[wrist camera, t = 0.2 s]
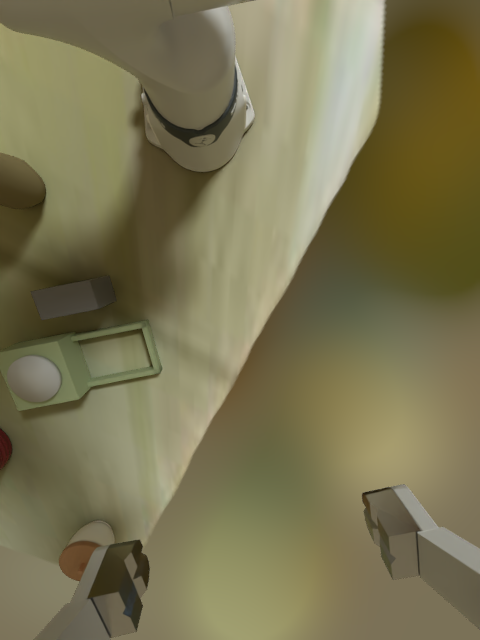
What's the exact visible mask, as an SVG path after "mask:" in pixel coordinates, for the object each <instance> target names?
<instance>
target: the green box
mask: <svg viewBox="0 0 480 640" xmlns="http://www.w3.org/2000/svg"><path fill="white" fill-rule="evenodd" d="M140 328H142V331H143V334H144V337H145V341H146V344H147V348H148V351H149V354H150V358H151V361H152V365H153V366H152V367H147V368H142V369H137V370H132V371H126V372H121V373H116V374H111V375H106V376H101V377H96V378H91V375H90V373H89V370H88V367H87V364H86V361H85V359H84V356H83V353H82V350H81V347H80V345H79V342H78V340H84V339H89V338H94V337H99V336H104V335H109V334H114V333H119V332H124V331H129V330H135V329H140ZM161 370H162V366H161V363H160V359H159V356H158V352H157V349H156V345H155V342H154V338H153V335H152V331H151V328H150V324H149V321H148V320H144V321H139V322H134V323H129V324H124V325H119V326H114V327H109V328H104V329H99V330H93V331H88V332H83V333H78V334H76V333H75V332H71V333H65V334H60V335H55V336H50V337H45V338H40V339H35V340H30V341H25V342H20V343H16V344H14V345H11V346H9V347H7V348H5V349H2V350H0V371H1V373H2V376H3V378H4V380H5V382H6V385H7V387H8V389H9V391H10V394H11V396H12V398H13V400H14V403H15V405H16V407H17V409H18V411H22V410H27V409H32V408H37V407H42V406H48V405H53V404H58V403H63V402H68V401H73V400H78V399H80V398H81V397H82V396H83V395H84V394H85V393H86V392H87V391H88V390H89V389H90V388H91V387H92V386H96V385H102V384H107V383H112V382H117V381H122V380H127V379H132V378H137V377H143V376H148V375H153V374H158V373H160V372H161Z"/></svg>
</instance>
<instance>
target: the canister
mask: <svg viewBox="0 0 480 640" xmlns="http://www.w3.org/2000/svg"><path fill="white" fill-rule="evenodd" d="M11 453H12V445H11V442H10V440H9V438H8V436H7V435H6V434H5V433H4V432H3V431H2V430H1V429H0V470H1V469H2V468H3V467H4V466H5V464H6V463H7V461H8V460H9V458H10V456H11Z"/></svg>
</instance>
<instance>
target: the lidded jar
mask: <svg viewBox="0 0 480 640" xmlns="http://www.w3.org/2000/svg"><path fill="white" fill-rule="evenodd" d="M111 544H115V537H114V533H113V531H112V528H111V526H110V525H109V524H108V523H106V522H104V521H100V520H97V521H93V522H91V523H89V524H87V525H85V526H83V527H81V528H80V529H79V530H78V531H77V532H76V533H75V534H74V535H73V537H72V538H71V539H70V541H69V542H68V544H67V546H66V548H65V549H64V550H63V552H62V554H61V556H60V558H59V565H60V568H61V570H62V572H63V573H64V574H65V575H66V576H68V577H69V578H71V579H74V580H77V581H80V580H81V577H82V575H83V573H84V571H85V569H86V566H87V564H88V562H89V560H90V557H91V555H92V553H93V551H94V550H95V549H96V548H97V547H101V546H106V545H111Z"/></svg>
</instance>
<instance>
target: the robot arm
mask: <svg viewBox="0 0 480 640" xmlns="http://www.w3.org/2000/svg"><path fill="white" fill-rule="evenodd" d="M249 1H254V0H0V23H2V24H3V25H4V26H6V27H7V28H9V29H11V30H13V31H15V32H19V33H24V34H30V35H35V36H40V37H45V38H49V39H53V40H57V41H61V42H64V43H67V44H70V45H73V46H76V47H79V48H81V49H84V50H86V51H89V52H91V53H93V54H95V55H98V56H100V57H102V58H104V59H106V60H108V61H110V62H112V63H114V64H115V65H117V66H119V67H121V68H123V69H124V70H126V71H127V72H129V73H131V74H132V75H134V76H135V77H136V78H138V80H139V82H140V83H141V84H142V88H143V93H142V94H141V97H142V102H143V105H144V117H145V132H146V137H147V139H148V141H149V142H150V143H151V144H153V145H155V146H157V147H159V148H161V149H163V150H165V151H166V152H167V153H168V154H169V155H170V156H171V158H172V159H173V160H174V161H176V162H177V163H178V164H179V165H181V166H183V167H184V168H186V169H189V170H192V171H197V172H208V171H212V170H215V169H218V168H220V167H221V166H223V165H224V164H226V163H227V162H228V161H229V160H230V159H231V158H232V157H233V155H234V154H235V152H236V150H237V149H238V146H239V144H240V141H241V138H242V136H243V134H244V133H245V132H246V131H247V130H248V128H249V127H250V126H251V125H252V123H253V122H254V119H255V114H254V110H253V107H252V104H251V101H250V98H249V95H248V92H247V89H246V86H245V83H244V80H243V77H242V74H241V71H240V68H239V65H238V62H237V59H236V56H235V45H236V38H235V28H234V23H233V19H232V16H231V13H230V10H229V8H228V6H230V5H235V4H239V3H244V2H249ZM246 107H247V110H246ZM362 501H363V503H364V505H365V507H366V508H365V510H364V516H365V521H366V524H367V528H368V530H369V533H370V535H371V537H372V539H373V541H374V543H375V544H376V545H378V546H379V547H380V549H381V557H382V559H383V561H384V563H385V565H386V567H387V569H388V571H389V573H390V575H391V577H392V579H393V580H396V579H402V578H408V577H414V576H420V578H422V579H423V580H424V581H425V582H426V583H427V584H428V585H429V586H431V587H432V588H433V589H434V590H435V591H436V592H437V593H438V594H440V595H441V596H442V597H443V598H444V599H445V600H447V601H448V602H449V603H450V604H451V605H452V606H453V607H455V608H456V609H457V610H458V611H459V612H460V613H461V614H463V615H464V616H465V617H466V618H467V619H468V620H469V621H470V622H472V623H473V624H474V625H475V626H476V627H478V629H479V630H480V549H479V548H478V547H476V546H474V545H473V544H471V543H469V542H468V541H466V540H464V539H463V538H461V537H459V536H458V535H456V534H454V533H453V532H451V531H449V530H448V529H446V528H444V527H440V528H439V527H438V526H437V525H436V524H435V522H434V521H433V520H432V518H431V517H430V516H429V514H428V513H427V512H426V510H425V509H424V508H423V507H422V505H421V504H420V502H419V501H418V500H417V499H416V497H415V496H414V495H413V493H412V492H411V491H410V489H409V488H408V487H407V486H406V485H405V484H403V485H398V486H393V487H387V488H382V489H378V490H373V491H369V492H364V493H362ZM142 548H143V546H142V543H141V541H140V540H134V541H128V542H122V543H117V544H111V545H106V546H101V547H97V548H96V549H95V550H94V551H93V553H92V555H91V557H90V560H89V562H88V564H87V566H86V569H85V571H84V573H83V575H82V577H81V580H80V582H79V584H78V586H77V589H76V591H75V593H74V595H73V598H72V600H71V602H70V603H67V604H65V605H64V607H63V608H62V609H61V610H60V611H59V612H58V613H57V614H56V615H55V616H54V618H53V619H52V620H51V621H50V622H49V623H48V624H47V625H46V626H45V628H44V629H43V630H42V631H41V632H40V633H39V634H38V635H37V636H36V638H35V639H34V640H111V639H110V638H112V637H117V636H121V635H125V634H129V633H134V632H137V628H138V623H139V620H140V616H141V611H142V607H143V605H142V602H141V599H140V598H141V597H142V595H143V594H144V593H145V591H146V590H147V586H148V582H149V571H150V568H149V561H148V558H147V556H146V555H145V554H143V553H142Z"/></svg>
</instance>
